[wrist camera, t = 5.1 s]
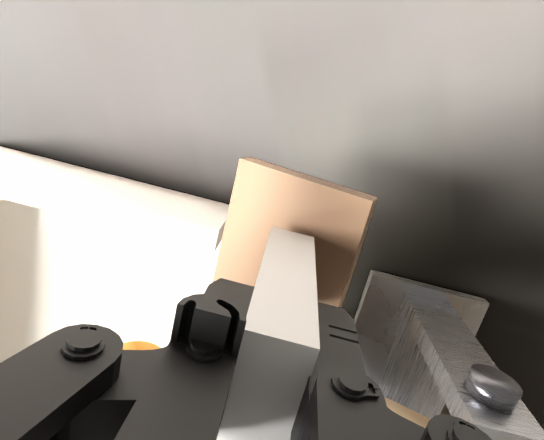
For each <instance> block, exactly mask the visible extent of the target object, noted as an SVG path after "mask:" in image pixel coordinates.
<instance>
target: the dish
mask: <svg viewBox="0 0 544 440" xmlns="http://www.w3.org/2000/svg"><path fill="white" fill-rule="evenodd" d="M228 209H229V204H225V203H221V202H218V201H214V200H210V199H206V198H202V197H198V196H194V195H190V194H186V193H182V192H178V191H174V190H170V189H166V188H163V187H159V186H155V185H151V184H147V183H143V182H139V181H135V180H131V179H127V178H123V177H119V176H115V175H111V174H108V173H104V172H100V171H96V170H92V169H88V168H84V167H80V166H76V165H72V164H68V163H64V162H60V161H56V160H52V159H49V158H45V157H41V156H37V155H33V154H29V153H25V152H21V151H17V150H13V149H9V148H5V147H1V146H0V363H1V362H3V361H4V360H6V359H8V358H10V357H11V356H13V355H15V354H16V353H18V352H20V351H22V350H23V349H25V348H27V347H29V346H30V345H32V344H34V343H35V342H37V341H39V340H41V339H42V338H44V337H46V336H47V335H49V334H51V333H53V332H55V331H57V330H59V329H62V328H64V327H67V326H73V325H79V324H92V325H99V326H103V327H106V328H110V329H111V330H113V331H114V332H116V333H117V334H119V336H120V338H121V339H122V341H123V343H125V342H129V341H147V342H150V343H153V344H155V345H157V346H159V347H160V348H163V347H166V346H167V345H168V344H169V342H170V338H171V333H172V328H173V323H174V318H175V312H176V307H177V303H178V302H179V301H181V300H182V299H183V298H185V297H188V296H191V295H194V294H204V293H205V291H206V289H207V287H208V285H209V284H210V283H212V282H213V277H214V273H215V268H216V264H217V259H218V255H219V250H220V245H221V241H222V236H223V232H224V227H225V222H226V218H227V213H228Z"/></svg>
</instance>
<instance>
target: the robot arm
mask: <svg viewBox="0 0 544 440" xmlns="http://www.w3.org/2000/svg"><path fill="white" fill-rule="evenodd" d="M356 333H357V331H356V326H355V321H354V319H353V318H352V317H351V316H350V314H349V313H348V312H347V311H346V310H345V309H344V308H340V307H336V306H332V305H328V304H325V303H321V302H318V301H317V282H316V263H315V244H314V237H311V236H307V235H304V234H300V233H296V232H292V231H288V230H284V229H280V228H276V227H273V226H272V228H271V231H270V235H269V238H268V242H267V245H266V249H265V252H264V256H263V259H262V263H261V266H260V270H259V273H258V277H257V280H256V284H255V287H254V286H250V285H246V284H242V283H238V282H234V281H231V280H227V279H223V278H220V279H218V280H216V281H214V282H212V283H210V284H209V285H208V287H207V289H206V291H205V293H204V294H194V295H191V296H188V297H185V298H183V299H182V300H181V301H179V302H178V303H177V307H176V312H175V318H174V323H173V328H172V333H171V338H170V342H169V344H168V345H167V346H166V347H163V348H159V349H154V350H123V341H122V339H121V338H120V336H119V334H117V333H116V332H114V331H113V330H111V329H110V328H106V327H103V326H99V325H92V324H79V325H73V326H67V327H64V328H62V329H59V330H57V331H55V332H53V333H51V334H49V335H47V336H46V337H44V338H42V339H41V340H39V341H37V342H35V343H34V344H32V345H30V346H29V347H27V348H25V349H23V350H22V351H20V352H18V353H16V354H15V355H13V356H11V357H10V358H8V359H6V360H4V361H3V362H1V363H0V440H492V439H491V438H490V437H489V436H488V435H487V434H486V433H484V432H483V431H481V430H480V429H479V428H477V427H476V426H475V425H473V424H471V423H470V422H468V421H466V420H463V419H461V418H459V417H454V416H450V415H446V414H445V415H435V416H434V417H433V418H432V419H430V420H429V422H428V424H427V426H426V428H424V427H422V426H420V425H418V424H416V423H414V422H412V421H410V420H408V419H406V418H404V417H402V416H400V415H398V414H397V413H395V412H393V411H392V410H390V409H389V408H388V407H387V405H386V401H385V397H384V395H383V393H382V391H381V389H380V387H379V386H378V385H377V384H376V383H375V382H374V381H373V380H372V379H371V378H370V377H369V376H367V375H366V372H365V368H364V363H363V358H362V354H361V349H360V344H358V343H359V340H358V335H357V334H356Z"/></svg>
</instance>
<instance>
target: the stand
mask: <svg viewBox="0 0 544 440" xmlns="http://www.w3.org/2000/svg"><path fill="white" fill-rule="evenodd" d="M489 305H490V304H489V303H488V302H487V301H486V299H485V298H481V297H477V296H473V295H469V294H465V293H461V292H457V291H453V290H449V289H445V288H441V287H437V286H434V285H430V284H426V283H422V282H418V281H414V280H410V279H406V278H402V277H398V276H394V275H390V274H386V273H382V272H379V271H375V270H371V271H370V273H369V276H368V279H367V282H366V285H365V288H364V291H363V294H362V297H361V300H360V302H359V305H358V308H357V311H356V314H355V317H354V321H355V326H356V331H357V333H356V334H357V335H358V340H359V343H358V344H360V349H361V354H362V358H363V363H364V368H365V372H366V375H367V376H369V377H370V378H371V379H372V380H373V381H374V382H375V383H376V384H377V385H378V386H379V387H380V389H381V391H382V393H383V395H384V397H386V398H388V399H390V400H392V401H394V402H396V403H398V404H400V405H403V406H405V407H407V408H409V409H411V410H413V411H415V412H417V413H419V414H421V415H423V416H425V417H427V418H429V419H432V418H433V417H434V416H435V415H445V414H446V415H450V416H454V417H459V418H461V419H463V420H466V421H468V422H470V423H471V424H473V425H475V426H476V427H477V428H479V429H480V430H481V431H483V432H484V433H486V434H487V435H488V436H489V437H490V438H491V439H492V440H544V430H543V429H542V427H541V426H540V424H539V423H538V422H537V420H536V419H535V418H534V416H533V415H532V414H531V412H530V411H529V409H528V408H527V407H526V405H525V404H524V403H523V401H522V400H521V399H520V398H521V396H522V394H523V391H522V389H521V387H520V386H519V384H518V383H517V382H516V381H515V380H514V379H512V378H511V377H510V376H509V375H507V374H506V373H504V372H502V371H500V370H499V369H498V367H497V366H496V365H495V363H494V362H493V360H492V359H491V358H490V356H489V355H488V354H487V352H486V351H485V350H484V348H483V347H482V345H481V344H480V343H479V341H478V340H477V339H476V337H475V336H476V334H477V331H478V329H479V327H480V325H481V323H482V320H483V318H484V316H485V314H486V312H487V309H488V307H489Z"/></svg>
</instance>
